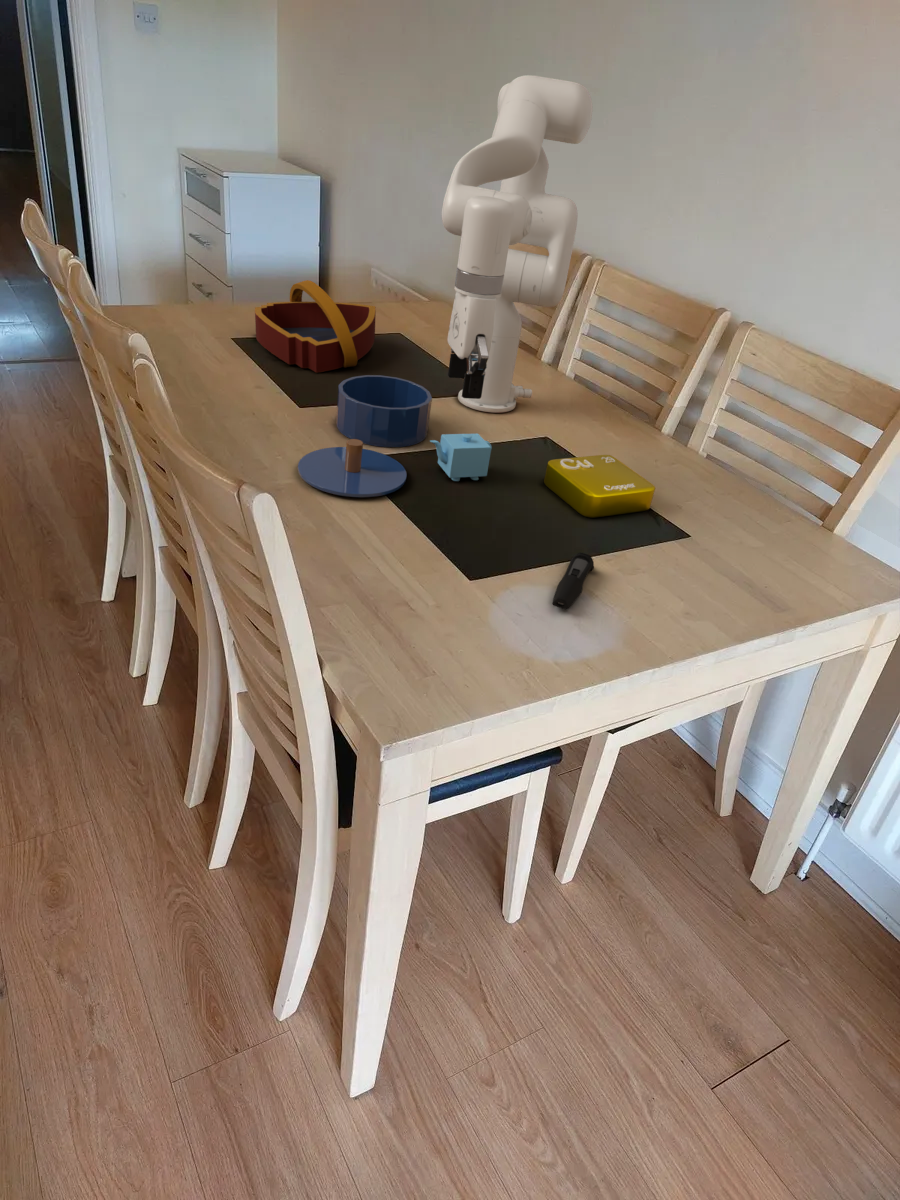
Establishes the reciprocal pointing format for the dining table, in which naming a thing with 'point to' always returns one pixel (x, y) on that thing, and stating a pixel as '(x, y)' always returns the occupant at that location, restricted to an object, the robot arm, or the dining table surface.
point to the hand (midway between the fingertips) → (463, 387)
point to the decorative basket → (316, 329)
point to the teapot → (463, 455)
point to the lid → (352, 471)
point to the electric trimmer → (573, 581)
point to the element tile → (598, 485)
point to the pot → (383, 410)
